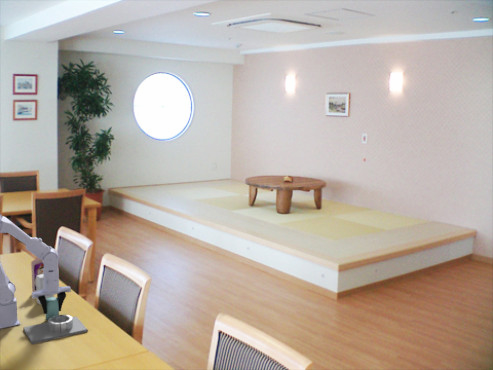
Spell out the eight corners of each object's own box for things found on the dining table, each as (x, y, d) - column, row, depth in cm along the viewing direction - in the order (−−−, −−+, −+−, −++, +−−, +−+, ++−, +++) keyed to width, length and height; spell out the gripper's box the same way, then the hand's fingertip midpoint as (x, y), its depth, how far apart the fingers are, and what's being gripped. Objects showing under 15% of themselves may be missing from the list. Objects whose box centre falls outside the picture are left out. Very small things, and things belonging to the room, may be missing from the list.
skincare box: (40, 305, 223) (39, 278, 222) (36, 302, 227) (35, 275, 225) (54, 301, 228) (53, 275, 226) (50, 298, 231) (49, 272, 229)
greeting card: (33, 294, 235) (32, 262, 233) (24, 290, 240) (23, 258, 237) (56, 287, 244) (55, 256, 242) (47, 284, 249) (46, 253, 246)
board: (32, 344, 188) (32, 341, 188) (23, 329, 200) (23, 327, 200) (87, 331, 200) (87, 329, 200) (76, 318, 211) (76, 316, 211)
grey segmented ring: (52, 333, 195) (51, 325, 194) (46, 325, 202) (45, 317, 201) (75, 328, 200) (75, 320, 199) (68, 320, 207) (68, 313, 206)
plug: (47, 322, 207) (46, 302, 206) (44, 317, 211) (43, 298, 210) (60, 319, 210) (60, 300, 209) (57, 315, 214) (56, 296, 213)
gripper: (34, 285, 201) (35, 319, 203) (72, 279, 209) (73, 311, 211) (30, 280, 206) (31, 312, 209) (67, 274, 215) (68, 305, 217)
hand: (52, 311), depth 210 cm, fingers closed on plug, 5 cm apart
